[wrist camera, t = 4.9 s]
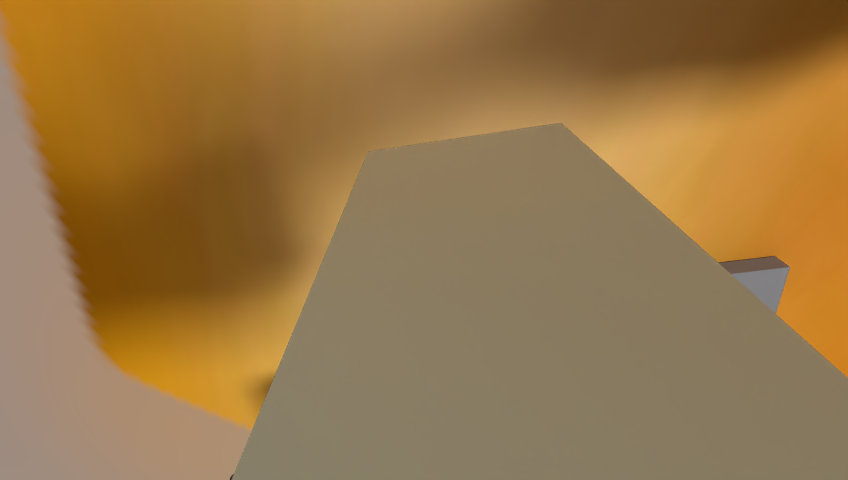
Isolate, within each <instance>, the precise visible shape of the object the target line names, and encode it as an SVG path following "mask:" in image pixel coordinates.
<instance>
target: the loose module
mask: <svg viewBox="0 0 848 480" xmlns="http://www.w3.org/2000/svg"><path fill="white" fill-rule="evenodd" d="M232 480H848V378H847V377H846V376H845V375H844V374H843V373H841V372H840V371H839V370H838V369H837V368H836V367H835V366H834V365H832V364H831V363H830V362H829V361H828V360H827V359H826V358H825V357H823V356H822V355H821V354H820V353H819V352H818V351H817V350H816V349H814V348H813V347H812V346H811V345H810V344H809V343H808V342H807V341H806V340H804V339H803V338H802V337H801V336H800V335H799V334H798V333H797V332H795V331H794V330H793V329H792V328H791V327H790V326H789V325H788V324H786V323H785V322H784V321H783V320H782V319H781V318H780V317H779V316H777V315H776V314H775V313H774V312H773V311H772V310H771V309H770V308H768V307H767V306H766V305H765V304H764V303H763V302H762V301H761V300H759V299H758V298H757V297H756V296H755V295H754V294H753V293H752V292H751V291H749V290H748V289H747V288H746V287H745V286H744V285H743V284H742V283H740V282H739V281H738V280H737V279H736V278H735V277H734V276H733V275H731V274H730V273H729V272H728V271H727V270H726V269H725V268H724V267H722V266H721V265H720V264H719V263H718V262H717V261H716V260H715V259H713V258H712V257H711V256H710V255H709V254H708V253H707V252H706V251H704V250H703V249H702V248H701V247H700V246H699V245H698V244H697V243H696V242H694V241H693V240H692V239H691V238H690V237H689V236H688V235H687V234H685V233H684V232H683V231H682V230H681V229H680V228H679V227H678V226H676V225H675V224H674V223H673V222H672V221H671V220H670V219H669V218H667V217H666V216H665V215H664V214H663V213H662V212H661V211H660V210H658V209H657V208H656V207H655V206H654V205H653V204H652V203H651V202H649V201H648V200H647V199H646V198H645V197H644V196H643V195H642V194H641V193H639V192H638V191H637V190H636V189H635V188H634V187H633V186H632V185H630V184H629V183H628V182H627V181H626V180H625V179H624V178H623V177H621V176H620V175H619V174H618V173H617V172H616V171H615V170H614V169H612V168H611V167H610V166H609V165H608V164H607V163H606V162H605V161H603V160H602V159H601V158H600V157H599V156H598V155H597V154H596V153H594V152H593V151H592V150H591V149H590V148H589V147H588V146H587V145H586V144H584V143H583V142H582V141H581V140H580V139H579V138H578V137H577V136H575V135H574V134H573V133H572V132H571V131H570V130H569V129H568V128H566V127H565V126H564V125H563V124H562V123H557V124H550V125H543V126H537V127H530V128H523V129H516V130H510V131H503V132H496V133H489V134H483V135H476V136H469V137H462V138H456V139H449V140H442V141H435V142H429V143H422V144H415V145H408V146H402V147H395V148H388V149H381V150H375V151H368V153H367V155H366V158H365V160H364V163H363V165H362V167H361V170H360V172H359V175H358V177H357V179H356V182H355V184H354V187H353V189H352V191H351V194H350V196H349V199H348V201H347V203H346V206H345V208H344V211H343V213H342V215H341V218H340V220H339V223H338V225H337V227H336V230H335V232H334V235H333V237H332V239H331V242H330V244H329V247H328V249H327V252H326V254H325V256H324V259H323V261H322V264H321V266H320V268H319V271H318V273H317V276H316V278H315V280H314V283H313V285H312V288H311V290H310V292H309V295H308V297H307V300H306V302H305V304H304V307H303V309H302V312H301V314H300V316H299V319H298V321H297V324H296V326H295V328H294V331H293V333H292V336H291V338H290V340H289V343H288V345H287V348H286V350H285V352H284V355H283V357H282V360H281V362H280V364H279V367H278V369H277V372H276V374H275V376H274V379H273V381H272V384H271V386H270V388H269V391H268V393H267V396H266V398H265V401H264V403H263V405H262V408H261V410H260V413H259V415H258V417H257V420H256V422H255V425H254V427H253V429H252V432H251V434H250V437H249V439H248V441H247V444H246V446H245V449H244V451H243V453H242V456H241V458H240V461H239V463H238V465H237V468H236V470H235V473H234V475H233V477H232Z"/></svg>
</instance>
